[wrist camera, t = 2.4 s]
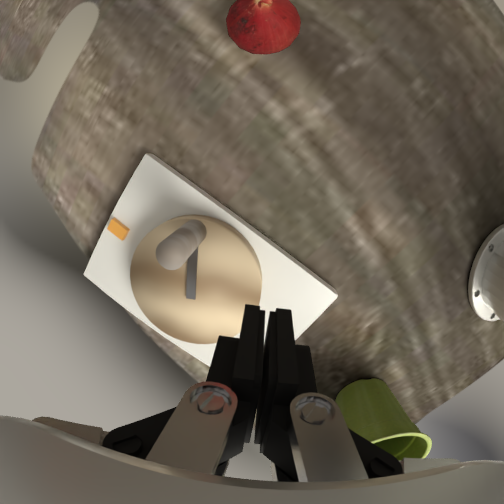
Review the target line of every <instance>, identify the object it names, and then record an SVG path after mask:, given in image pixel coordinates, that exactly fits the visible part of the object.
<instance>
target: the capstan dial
mask: <svg viewBox="0 0 504 504" xmlns="http://www.w3.org/2000/svg"><path fill="white" fill-rule="evenodd" d="M130 281H131V287H132V291H133V294H134V297H135V300H136V302H137V304H138V306H139V307H140V309H141V311H142V312H143V314H144V315H145V316H146V317H147V318H148V320H149V321H150V322H151V323H152V324H154V325H155V326H156V327H157V328H158V329H160V330H161V331H163V332H164V333H166V334H167V335H169V336H171V337H173V338H176V339H178V340H181V341H184V342H188V343H194V344H213V343H217V340H218V337H219V335H221V336H228V337H234V336H236V335H237V334H238V333H240V332H241V326H242V320H243V314H244V309H245V304H250V305H257V306H259V303H260V298H261V290H262V271H261V266H260V263H259V260H258V257H257V255H256V253H255V251H254V249H253V247H252V246H251V245H250V243H249V242H248V240H247V239H246V238H245V237H244V236H243V235H242V234H241V233H240V232H239V231H237V230H236V229H235V228H234V227H232V226H231V225H229V224H227V223H226V222H223V221H221V220H219V219H216V218H213V217H210V216H205V215H194V214H192V215H183V216H178V217H175V218H172V219H170V220H168V221H166V222H164V223H162V224H161V225H159V226H158V227H156V228H154V229H153V230H152V231H150V232H149V233H148V234H147V235H146V236H145V237H144V238H143V239H142V240H141V242H140V243H139V245H138V246H137V248H136V250H135V252H134V254H133V258H132V261H131V267H130Z"/></svg>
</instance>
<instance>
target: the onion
mask: <svg viewBox="0 0 504 504" xmlns="http://www.w3.org/2000/svg"><path fill="white" fill-rule="evenodd" d="M226 22H227V29H228V35H229V36H230V37H231V38H232V40H233V41H234V42H235V43H236V44H237V45H238V47H239V48H241V49H243V50H245V51H248V52H250V53H252V54H271V53H276V52H280V51H281V50H283V49H285V48H287V47H288V46H290V45H291V43H292V42H293V41H294V40H295V38H296V37H297V36H298V34H299V30H300V24H301V21H300V17H299V15H298V12H297V10H296V8H295V7H294V5H293V4H292V3H291V2H290V1H289V0H237V1H236V2H235V3H234V4H233V5H232V6H231V8H230V10H229V13H228V15H227V18H226Z"/></svg>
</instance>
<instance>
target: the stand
mask: <svg viewBox="0 0 504 504" xmlns="http://www.w3.org/2000/svg"><path fill="white" fill-rule="evenodd" d="M192 214H194V215H205V216H210V217H213V218H216V219H219V220H221V221H223V222H226V223H227V224H229V225H231V226H232V227H234V228H235V229H236V230H237V231H239V232H240V233H241V234H242V235H243V236H244V237H245V238H246V239H247V240H248V242H249V243H250V245H251V246H252V247H253V249H254V251H255V253H256V255H257V257H258V260H259V263H260V266H261V271H262V290H261V298H260V303H259V306H260V310H265V332H264V342H265V337H266V331H267V325H268V319H269V313H270V311H274V312H275V310H276V308H282V309H290V310H291V311H292V320H293V329H294V338H295V340H296V339H297V338H298V337H299V336H300V335H301V334H302V333H303V332H304V331H305V330H306V329H307V328H308V327H309V326H310V325H311V324H312V323H313V322H314V321H315V320H316V319H317V318H318V317H319V316H320V315H321V314H322V313H323V312H324V311H325V310H326V309H327V308H328V306H329V305H330V304H331V303H332V302H333V301H334V300H335V299H336V298H337V297H338V294H337V292H336V289H334V288H333V287H332V286H330V285H329V284H328V283H327V282H325V281H324V280H323V279H321V278H320V277H319V276H317V275H316V274H315V273H314V272H312V271H311V270H310V269H308V268H307V267H306V266H304V265H303V264H302V263H300V262H299V261H298V260H296V259H295V258H294V257H292V256H291V255H290V254H289V253H287V252H286V251H285V250H283V249H282V248H281V247H279V246H278V245H277V244H275V243H274V242H273V241H271V240H270V239H269V238H267V237H266V236H265V235H263V234H262V233H261V232H259V231H258V230H257V229H255V228H254V227H253V226H251V225H250V224H248V223H247V222H246V221H244V220H243V219H242V218H240V217H239V216H238V215H236V214H235V213H234V212H232V211H231V210H230V209H228V208H227V207H225V206H224V205H223V204H221V203H220V202H219V201H217V200H216V199H215V198H213V197H212V196H210V195H209V194H208V193H206V192H205V191H204V190H202V189H201V188H199V187H198V186H197V185H195V184H194V183H193V182H191V181H190V180H188V179H187V178H186V177H184V176H183V175H181V174H180V173H179V172H177V171H176V170H175V169H173V168H172V167H170V166H169V165H168V164H166V163H165V162H163V161H162V160H161V159H159V158H158V157H156V156H155V155H153V154H145V155H144V157H143V159H142V160H141V162H140V164H139V165H138V167H137V169H136V170H135V172H134V174H133V176H132V177H131V179H130V181H129V183H128V184H127V186H126V188H125V190H124V192H123V193H122V195H121V197H120V199H119V201H118V203H117V205H116V207H115V208H114V210H113V212H112V214H111V216H110V218H109V220H108V222H107V224H106V226H105V228H104V230H103V232H102V234H101V237H100V239H99V241H98V243H97V245H96V247H95V249H94V252H93V254H92V256H91V258H90V261H89V263H88V265H87V268H86V270H85V272H84V275H85V276H86V277H87V278H88V279H89V280H91V281H92V282H93V283H94V284H95V285H97V286H98V287H99V288H100V289H101V290H103V291H104V292H105V293H106V294H108V295H109V296H110V297H111V298H113V299H114V300H115V301H117V302H118V303H119V304H120V305H122V306H123V307H124V308H125V309H127V310H128V311H129V312H131V313H132V314H133V315H135V316H136V317H137V318H139V319H140V320H141V321H143V322H144V323H146V324H147V325H148V326H150V327H151V328H153V329H154V330H155V331H157V332H158V333H160V334H161V335H162V336H164V337H165V338H167V339H168V340H170V341H171V342H173V343H174V344H176V345H177V346H179V347H180V348H182V349H183V350H185V351H186V352H188V353H189V354H191V355H192V356H194V357H195V358H197V359H198V360H200V361H202V362H203V363H205V364H206V365H208V366H210V365H211V362H212V358H213V355H214V351H215V347H216V344H217V343H213V344H194V343H188V342H184V341H181V340H178V339H176V338H173V337H171V336H169V335H167V334H166V333H164V332H163V331H161V330H160V329H158V328H157V327H156V326H155V325H154V324H152V323H151V322H150V321H149V320H148V318H147V317H146V316H145V315H144V314H143V312H142V311H141V309H140V307H139V306H138V304H137V302H136V300H135V297H134V294H133V291H132V287H131V281H130V267H131V261H132V258H133V254H134V252H135V250H136V248H137V246H138V245H139V243H140V242H141V240H142V239H143V238H144V237H145V236H146V235H147V234H148V233H149V232H150V231H152V230H153V229H154V228H156V227H158V226H159V225H161V224H162V223H164V222H166V221H168V220H170V219H172V218H175V217H178V216H183V215H192ZM234 337H235V338H239V337H240V333H238V334H237V335H236V336H234Z"/></svg>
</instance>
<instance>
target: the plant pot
mask: <svg viewBox="0 0 504 504" xmlns="http://www.w3.org/2000/svg"><path fill="white" fill-rule="evenodd" d="M335 402H336V403H337V405H338V406H339V408H340V410H341V412H342V415H343V417H344V420H345V422H346V424H347V427H348V428H349V429H351V430H352V431H354V432H355V433H357V434H359V435H360V436H362V437H363V438H365V439H367V440H368V441H370V442H371V443H373V444H375V445H376V446H378V447H380V448H381V449H383V450H385V451H386V452H388V453H390V454H392V455H393V456H394V457H395V458H397V459H398V460H399V461H401V460H402V459H403V458H425V457H426V456H427V454H428V453H429V452H430V449H431V446H432V441H431V439H430V437H429V436H428V435H426V434H424V433H421V432H420V431H419V429H418V428H417V426H416V425H415V424H414V423H412V422H411V420H410V419H409V417H408V416H407V414H406V413H405V411H404V410H403V408H402V407H401V405H400V404H399V402H398V401H397V399H396V398H395V396H394V395H393V393H392V392H391V390H390V389H389V388H388V386H387V385H386V383H385V382H383V381H382V380H379V379H375V378H373V379H369V380H363V379H361V380H358V381H355V382H353V383H351V384H349V385H347V386H346V387H345V388H343V389H342V390H341V391H340V392H339V394H338V395H337V397H336V400H335Z"/></svg>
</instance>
